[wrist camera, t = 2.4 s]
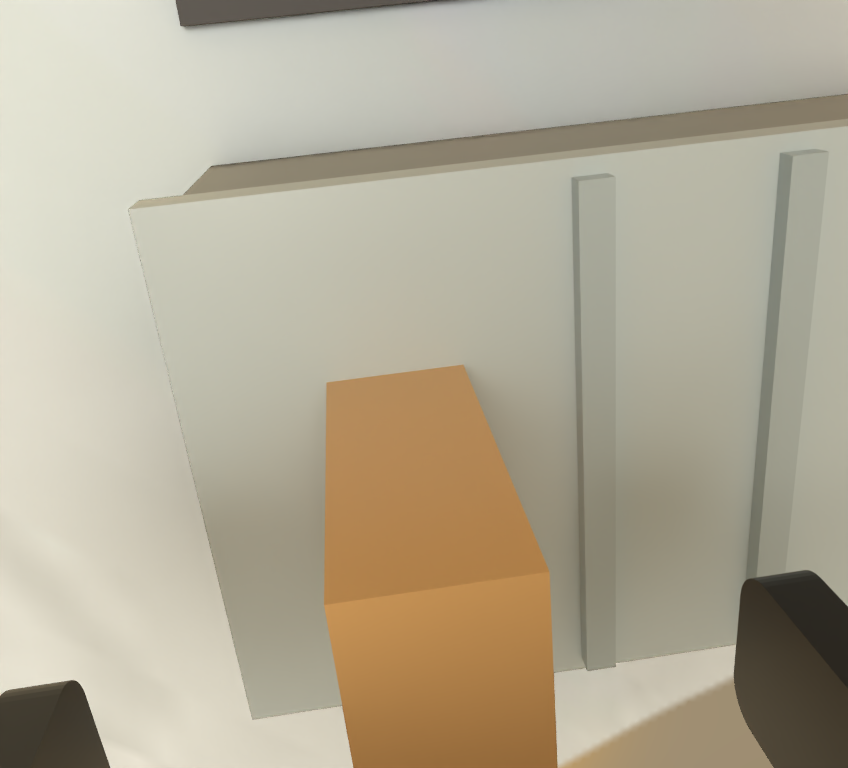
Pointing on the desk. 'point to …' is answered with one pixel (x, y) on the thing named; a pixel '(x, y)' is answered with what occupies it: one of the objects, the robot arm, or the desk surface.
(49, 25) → the desk surface
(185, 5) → the mat
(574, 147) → the tub
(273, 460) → the lid
